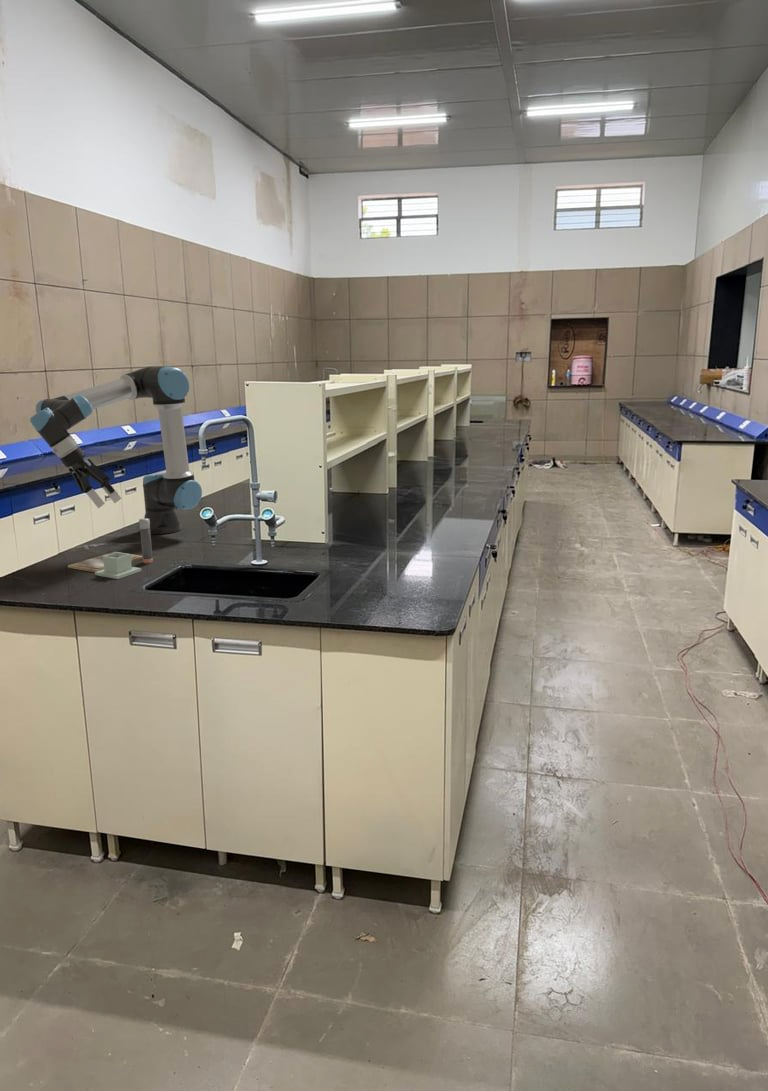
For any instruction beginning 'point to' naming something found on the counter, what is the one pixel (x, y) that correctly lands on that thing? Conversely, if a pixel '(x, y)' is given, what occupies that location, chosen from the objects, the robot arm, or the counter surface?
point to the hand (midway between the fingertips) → (109, 503)
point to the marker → (146, 540)
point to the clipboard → (97, 563)
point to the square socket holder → (117, 566)
